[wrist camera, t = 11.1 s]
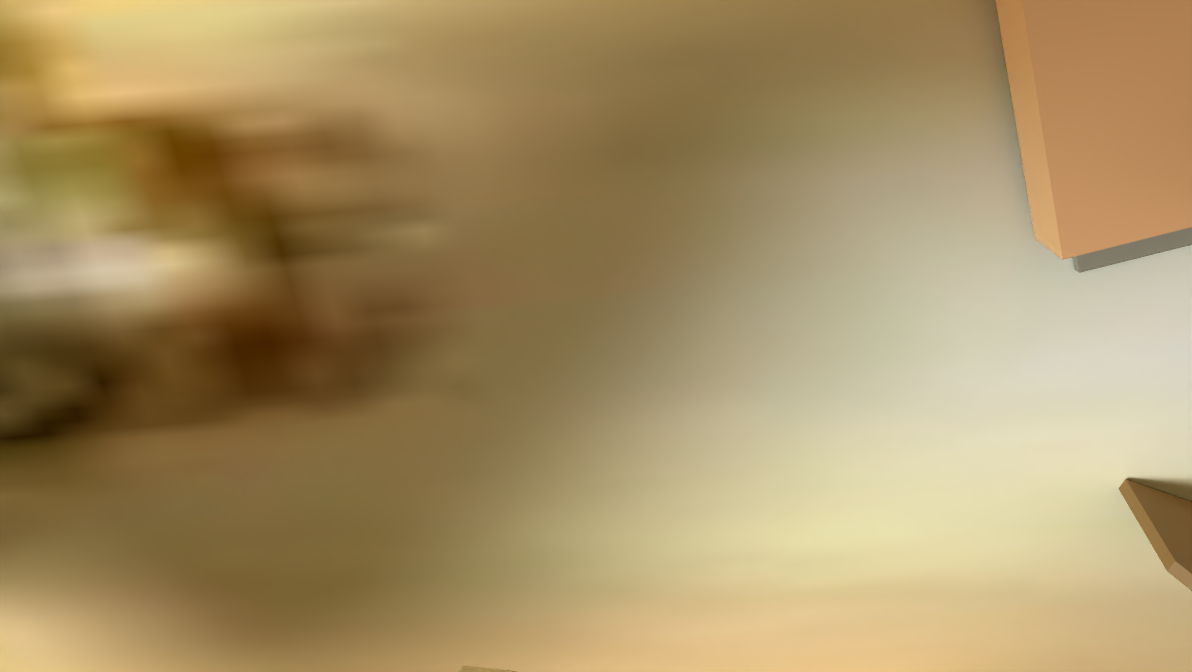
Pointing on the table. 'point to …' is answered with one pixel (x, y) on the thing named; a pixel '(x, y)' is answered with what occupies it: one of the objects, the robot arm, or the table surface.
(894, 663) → the table surface
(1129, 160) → the tile
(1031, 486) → the table surface
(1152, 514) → the photo frame
